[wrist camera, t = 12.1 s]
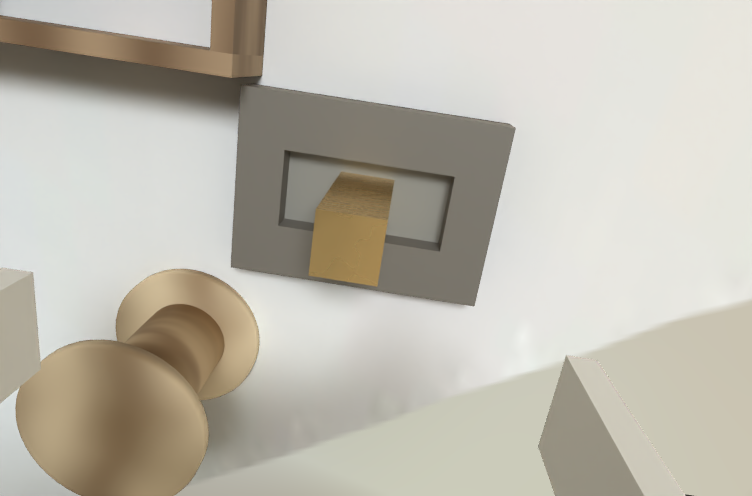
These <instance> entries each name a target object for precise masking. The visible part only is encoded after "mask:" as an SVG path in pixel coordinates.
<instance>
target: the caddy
mask: <svg viewBox="0 0 752 496" xmlns="http://www.w3.org/2000/svg"><path fill="white" fill-rule="evenodd" d="M266 8H267V0H212V15H211V44H210V48H209V47H202V46H196V45H189V44H183V43H176V42H170V41H163V40H157V39H151V38H144V37H138V36H131V35H125V34H118V33H112V32H105V31H99V30H92V29H86V28H79V27H73V26H67V25H60V24H54V23H47V22H41V21H34V20H28V19H21V18H15V17H8V16H2V15H0V42H5V43H11V44H17V45H24V46H30V47H37V48H43V49H50V50H56V51H62V52H69V53H75V54H82V55H88V56H95V57H101V58H107V59H114V60H120V61H127V62H133V63H139V64H146V65H152V66H159V67H165V68H172V69H178V70H184V71H191V72H197V73H204V74H210V75H217V76H223V77H229V78H236V77H249V76H262V68H263V53H264V38H265V23H266Z"/></svg>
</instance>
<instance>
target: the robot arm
mask: <svg viewBox="0 0 752 496" xmlns="http://www.w3.org/2000/svg"><path fill="white" fill-rule="evenodd" d="M39 370H41V363H40V351H39V339H38V327H37V315H36V303H35V291H34V279H33V272H27V271H20V270H14V269H7V268H0V403H1V402H2V401H4V400H5V399H6V398H7V397H8V396H10V395H11V394H12V393H13V392H14V391H15V390H17V389H18V388H19V387H20V386H21V385H23V384H24V383H25V382H26V381H27V380H29V379H30V378H31V377H32V376H33V375H35V374H36V373H37V372H38V371H39ZM538 448H539V450H540V453H541V456H542V459H543V462H544V465H545V467H546V470H547V473H548V476H549V479H550V482H551V485H552V488H553V491H554V494H555V496H692V495H685V494H684V492H683V491H682V489H681V488H680V486H679V485H678V483H677V482H676V480H675V479H674V477H673V476H672V474H671V473H670V471H669V470H668V468H667V466H666V465H665V463H664V462H663V460H662V459H661V457H660V456H659V454H658V453H657V451H656V449H655V448H654V446H653V445H652V443H651V442H650V440H649V439H648V437H647V436H646V434H645V432H644V431H643V429H642V428H641V427H640V425H639V423H638V422H637V420H636V419H635V417H634V416H633V414H632V413H631V411H630V409H629V408H628V406H627V405H626V403H625V402H624V400H623V399H622V397H621V396H620V394H619V393H618V391H617V390H616V388H615V386H614V385H613V383H612V382H611V380H610V379H609V377H608V376H607V374H606V373H605V371H604V370H603V368H602V366H601V365H600V363H599V362H598V360H594V359H587V358H581V357H575V356H568V355H566V358H565V361H564V364H563V367H562V371H561V374H560V377H559V380H558V384H557V387H556V390H555V393H554V396H553V400H552V403H551V406H550V409H549V413H548V416H547V419H546V422H545V426H544V429H543V432H542V435H541V439H540V442H539V445H538Z"/></svg>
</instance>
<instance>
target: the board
mask: <svg viewBox="0 0 752 496" xmlns="http://www.w3.org/2000/svg"><path fill="white" fill-rule="evenodd" d="M515 129H516V128H515V127H513V126H512V125H510V124H507V123H501V122H494V121H488V120H481V119H475V118H468V117H462V116H456V115H449V114H443V113H436V112H430V111H424V110H417V109H411V108H404V107H398V106H391V105H385V104H379V103H372V102H366V101H359V100H353V99H347V98H340V97H334V96H327V95H321V94H314V93H308V92H302V91H295V90H289V89H282V88H276V87H270V86H263V85H257V84H246V85H241V89H240V107H239V126H238V144H237V162H236V181H235V199H234V218H233V236H232V254H231V267H234V268H240V269H246V270H252V271H258V272H265V273H271V274H277V275H283V276H289V277H296V278H302V279H308V280H314V281H320V282H327V283H333V284H339V285H345V286H351V287H358V288H364V289H370V290H376V291H382V292H388V293H395V294H401V295H407V296H413V297H419V298H426V299H432V300H438V301H444V302H450V303H457V304H463V305H469V306H474V305H475V301H476V297H477V292H478V288H479V284H480V280H481V275H482V271H483V267H484V262H485V258H486V254H487V249H488V245H489V241H490V236H491V232H492V228H493V224H494V219H495V215H496V211H497V206H498V202H499V198H500V193H501V189H502V185H503V180H504V176H505V172H506V168H507V163H508V159H509V155H510V150H511V146H512V142H513V137H514V133H515ZM341 171H342V172H348V173H354V174H361V175H367V176H373V177H380V178H386V179H392V180H394V187H393V193H392V199H391V205H390V212H389V218H388V224H387V230H386V237H385V243H384V249H383V255H382V261H381V267H380V273H379V279H378V285H377V287H376V286H370V285H364V284H358V283H352V282H345V281H339V280H333V279H327V278H321V277H314V276H308V275H309V266H310V257H311V248H312V239H313V230H314V220H315V211H316V208H317V206H318V205H319V203H320V202H321V200H322V199H323V198H324V196H325V195H326V193H327V192H328V190H329V189H330V187H331V186H332V184H333V183H334V181H335V180H336V178H337V177H338V175H339V174H340V172H341Z"/></svg>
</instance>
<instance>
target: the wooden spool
mask: <svg viewBox="0 0 752 496" xmlns="http://www.w3.org/2000/svg"><path fill="white" fill-rule="evenodd" d="M116 336H117V341H111V340H86V341H79V342H76V343H72V344H68V345H66V346H64V347H62V348H59V349H58V350H56V351H54V352H53V353H51V354H50V355H49V356H47V357H46V358H45V359H43V360H42V361H41V362H40V363H41V370H39V371H38V372H37V373H36V374H35V375H33V376H32V377H31V378H30V379H29V380H27V381H26V382H25V383H24V384H23V385H21V386H20V388H19V392H18V395H17V399H16V420H17V426H18V429H19V432H20V435H21V438H22V440H23V442H24V444H25V446H26V448H27V450H28V451H29V453H30V454H31V456H32V457H33V459H34V460H35V461H36V462H37V464H38V465H39V466H40V467H41V468H42V469H43V470H44V471H45V472H46V473H47V474H48V475H49V476H51V477H52V478H53V479H54V480H55V481H57V482H58V483H60V484H61V485H62V486H64V487H65V488H67V489H69V490H71V491H72V492H74V493H76V494H78V495H80V496H174V495H176V494H177V493H178V492H180V491H181V490H182V489H183V488H184V487H185V486H186V485H188V484H189V482H190V481H191V480H192V478H193V477H194V475H195V474H196V472H197V470H198V468H199V466H200V464H201V462H202V460H203V458H204V456H205V453H206V450H207V447H208V439H209V427H208V422H207V416H206V413H205V410H204V408H203V405H202V403H201V401H200V400H207V399H213V398H217V397H220V396H222V395H225V394H227V393H229V392H231V391H232V390H234V389H235V388H236V387H238V386H239V385H240V384H241V383H242V382H243V381H244V380H245V378H246V377H247V375H248V374H249V372H250V370H251V369H252V367H253V365H254V363H255V361H256V358H257V355H258V350H259V331H258V326H257V323H256V320H255V317H254V315H253V313H252V311H251V309H250V308H249V306H248V304H247V303H246V302H245V300H244V299H243V298H242V297H241V296H240V295H239V294H238V293H237V292H236V291H235V290H234V289H233V288H232V287H230V286H229V285H228V284H226V283H225V282H223V281H222V280H220V279H218V278H216V277H214V276H212V275H209V274H206V273H204V272H200V271H196V270H189V269H171V270H165V271H161V272H158V273H155V274H153V275H151V276H149V277H147V278H146V279H144V280H143V281H141V282H140V283H139V284H138V285H136V286H135V287H134V288H133V289H132V290H131V291H130V292H129V293H128V294H127V295H126V297H125V298H124V300H123V301H122V303H121V305H120V307H119V310H118V313H117V318H116Z"/></svg>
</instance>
